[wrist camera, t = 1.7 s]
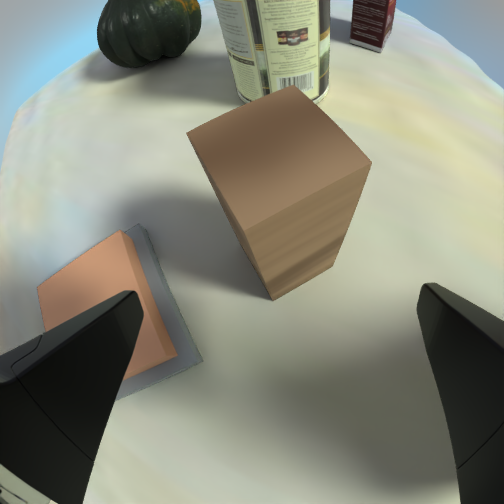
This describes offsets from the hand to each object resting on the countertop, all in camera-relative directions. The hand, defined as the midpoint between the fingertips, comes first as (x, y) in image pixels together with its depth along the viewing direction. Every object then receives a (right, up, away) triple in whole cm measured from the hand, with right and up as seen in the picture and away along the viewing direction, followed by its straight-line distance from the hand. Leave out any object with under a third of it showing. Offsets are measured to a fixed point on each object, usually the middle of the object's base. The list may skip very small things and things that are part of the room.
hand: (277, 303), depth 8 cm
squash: (-15, +32, +27) cm, 44 cm away
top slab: (-13, -4, +12) cm, 18 cm away
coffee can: (+3, +20, +20) cm, 28 cm away
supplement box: (+16, +32, +22) cm, 42 cm away
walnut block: (+2, +1, +13) cm, 13 cm away
